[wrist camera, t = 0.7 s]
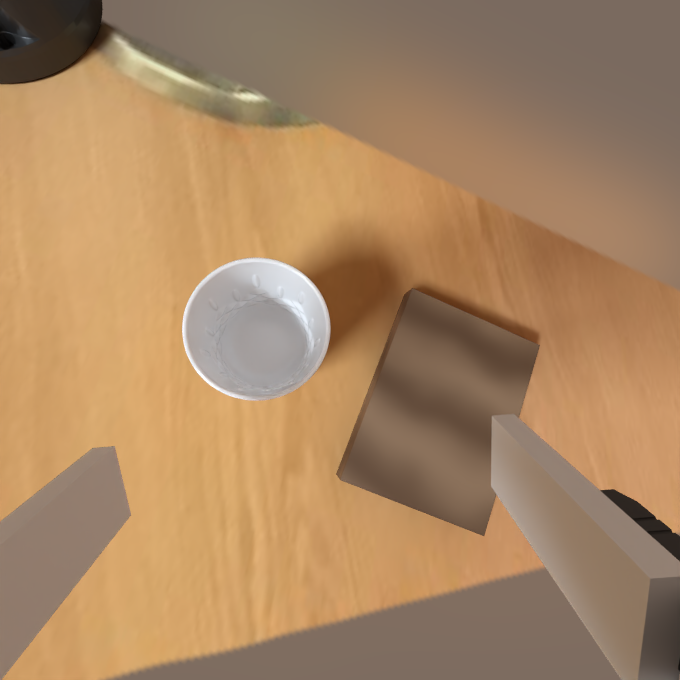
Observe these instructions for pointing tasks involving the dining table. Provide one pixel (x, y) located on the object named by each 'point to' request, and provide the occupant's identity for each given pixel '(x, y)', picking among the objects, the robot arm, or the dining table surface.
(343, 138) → the dining table surface
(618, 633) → the robot arm
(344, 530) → the dining table surface
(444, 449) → the walnut board
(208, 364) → the white cup
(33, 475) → the dining table surface
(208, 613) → the dining table surface
